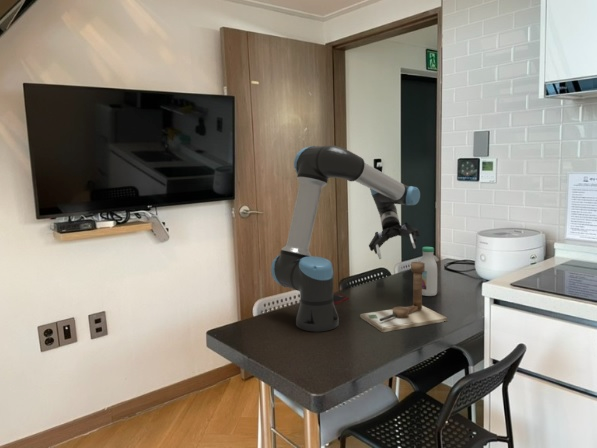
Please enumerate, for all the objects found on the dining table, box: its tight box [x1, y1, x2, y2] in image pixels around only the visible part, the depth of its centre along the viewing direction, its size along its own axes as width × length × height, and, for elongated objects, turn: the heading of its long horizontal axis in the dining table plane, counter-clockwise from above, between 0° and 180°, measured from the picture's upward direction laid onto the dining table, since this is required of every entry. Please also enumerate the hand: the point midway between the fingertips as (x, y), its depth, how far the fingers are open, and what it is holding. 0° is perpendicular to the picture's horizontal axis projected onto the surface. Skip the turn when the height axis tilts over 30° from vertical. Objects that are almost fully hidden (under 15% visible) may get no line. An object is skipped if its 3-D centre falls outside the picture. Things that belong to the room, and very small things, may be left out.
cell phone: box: [333, 293, 350, 306], centre depth 188 cm, size 8×15×1 cm, turn 137°
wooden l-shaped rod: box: [380, 261, 425, 321], centre depth 164 cm, size 23×6×17 cm, turn 130°
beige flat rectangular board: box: [359, 305, 448, 333], centre depth 165 cm, size 26×16×2 cm, turn 110°
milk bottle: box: [419, 246, 438, 297], centre depth 193 cm, size 8×8×20 cm
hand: (396, 250), depth 175 cm, fingers open, 13 cm apart
